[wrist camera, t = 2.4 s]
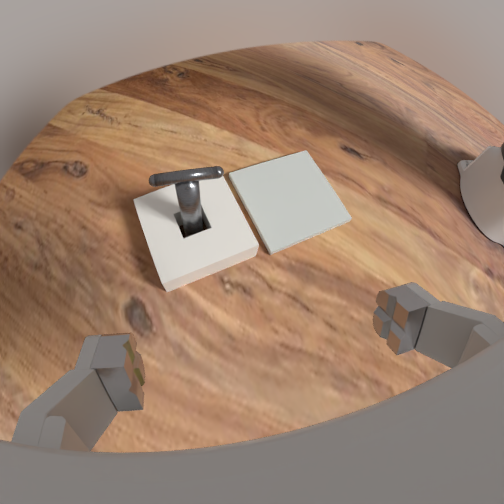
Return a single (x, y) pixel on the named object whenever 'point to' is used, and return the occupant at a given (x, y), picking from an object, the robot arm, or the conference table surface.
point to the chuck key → (188, 193)
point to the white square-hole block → (198, 245)
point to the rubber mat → (288, 200)
